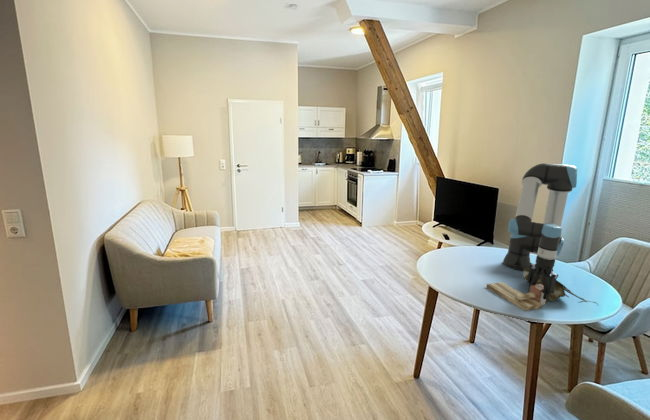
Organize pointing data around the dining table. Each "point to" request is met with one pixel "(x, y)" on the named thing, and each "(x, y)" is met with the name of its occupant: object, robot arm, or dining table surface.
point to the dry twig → (576, 296)
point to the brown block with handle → (532, 293)
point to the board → (513, 296)
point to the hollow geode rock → (558, 286)
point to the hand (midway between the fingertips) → (536, 301)
